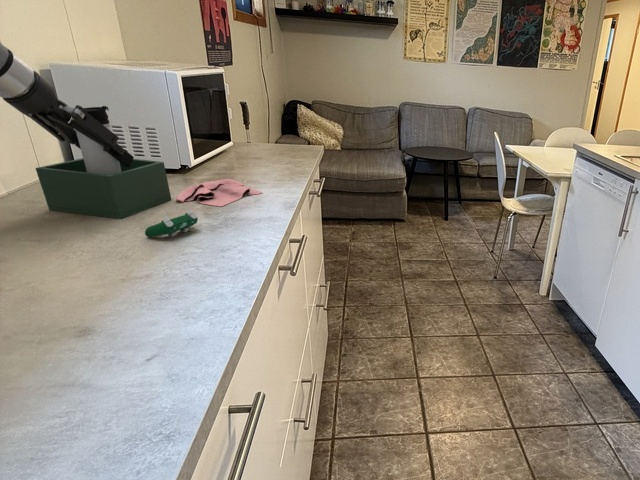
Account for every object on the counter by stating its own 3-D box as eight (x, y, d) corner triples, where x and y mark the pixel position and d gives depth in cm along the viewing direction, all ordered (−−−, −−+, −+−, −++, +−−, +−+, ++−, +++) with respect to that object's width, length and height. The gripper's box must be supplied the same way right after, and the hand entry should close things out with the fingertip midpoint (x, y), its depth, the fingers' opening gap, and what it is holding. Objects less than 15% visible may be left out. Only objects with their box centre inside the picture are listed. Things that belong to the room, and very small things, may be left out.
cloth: (237, 180, 134) (236, 172, 132) (274, 199, 120) (273, 189, 119) (158, 190, 120) (155, 180, 119) (189, 211, 107) (187, 201, 106)
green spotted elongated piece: (154, 248, 92) (167, 231, 89) (141, 232, 91) (153, 215, 88) (193, 234, 99) (205, 218, 96) (180, 220, 99) (193, 203, 96)
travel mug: (130, 202, 107) (108, 108, 98) (95, 205, 103) (68, 107, 94) (128, 195, 111) (107, 104, 102) (94, 198, 108) (69, 104, 99)
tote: (49, 210, 102) (35, 168, 97) (108, 192, 116) (97, 154, 112) (120, 219, 100) (109, 176, 96) (171, 199, 114) (163, 161, 110)
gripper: (-36, 96, 85) (74, 169, 107) (52, 105, 82) (147, 179, 104) (-16, 63, 88) (88, 142, 109) (71, 71, 84) (160, 150, 106)
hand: (116, 160), depth 107 cm, fingers closed on travel mug, 6 cm apart
